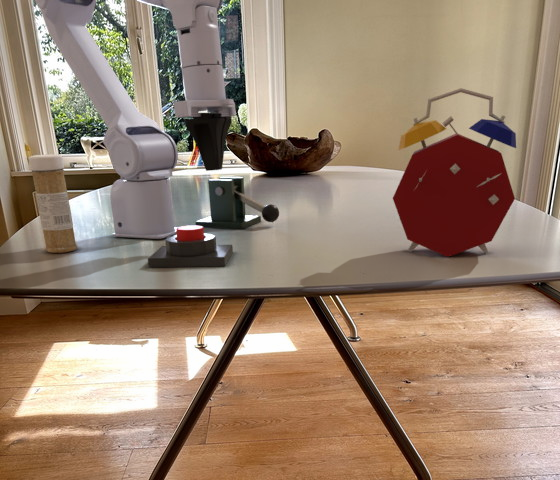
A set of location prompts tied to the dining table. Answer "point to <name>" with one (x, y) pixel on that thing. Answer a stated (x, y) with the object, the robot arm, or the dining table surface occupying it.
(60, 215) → the sprinkles bottle
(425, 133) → the alarm clock
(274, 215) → the lever
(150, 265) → the button box
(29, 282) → the dining table surface
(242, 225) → the bracket
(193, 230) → the button
